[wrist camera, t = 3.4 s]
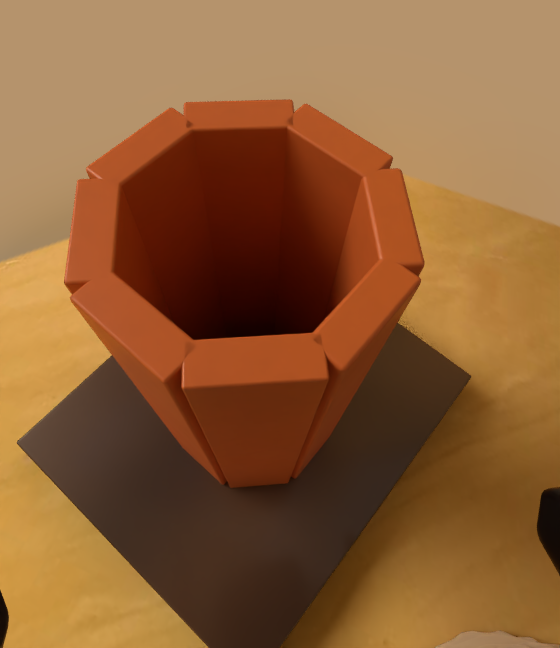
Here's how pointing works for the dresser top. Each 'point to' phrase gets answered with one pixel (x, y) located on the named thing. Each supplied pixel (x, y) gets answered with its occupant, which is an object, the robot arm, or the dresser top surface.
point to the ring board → (240, 493)
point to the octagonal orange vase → (244, 275)
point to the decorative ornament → (493, 641)
